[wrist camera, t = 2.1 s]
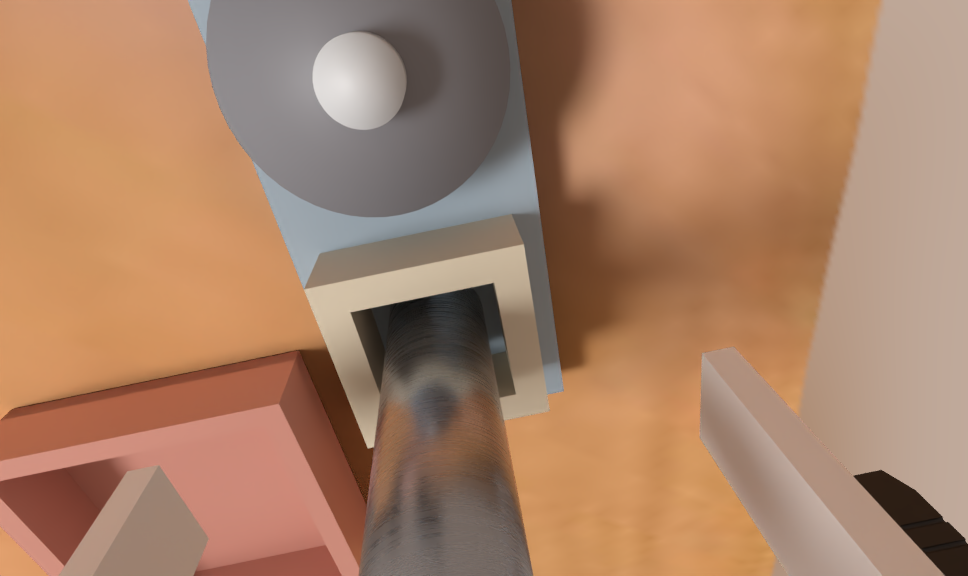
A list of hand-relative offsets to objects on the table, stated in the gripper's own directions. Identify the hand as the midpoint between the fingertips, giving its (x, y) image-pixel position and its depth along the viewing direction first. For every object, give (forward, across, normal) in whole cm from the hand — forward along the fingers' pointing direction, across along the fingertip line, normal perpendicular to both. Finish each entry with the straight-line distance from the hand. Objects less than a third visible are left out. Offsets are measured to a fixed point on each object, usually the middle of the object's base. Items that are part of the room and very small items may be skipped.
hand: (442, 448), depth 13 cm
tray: (+7, -11, -6) cm, 15 cm away
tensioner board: (+7, 0, +4) cm, 8 cm away
